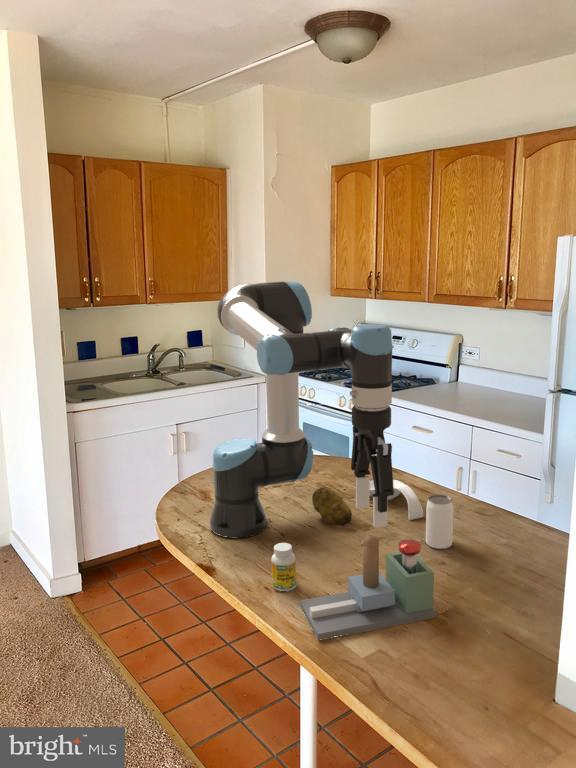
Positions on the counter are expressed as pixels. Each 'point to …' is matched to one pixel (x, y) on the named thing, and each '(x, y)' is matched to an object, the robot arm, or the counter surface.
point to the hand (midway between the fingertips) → (371, 515)
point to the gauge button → (409, 554)
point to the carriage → (371, 581)
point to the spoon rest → (412, 500)
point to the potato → (331, 506)
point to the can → (439, 521)
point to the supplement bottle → (283, 567)
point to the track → (343, 618)
